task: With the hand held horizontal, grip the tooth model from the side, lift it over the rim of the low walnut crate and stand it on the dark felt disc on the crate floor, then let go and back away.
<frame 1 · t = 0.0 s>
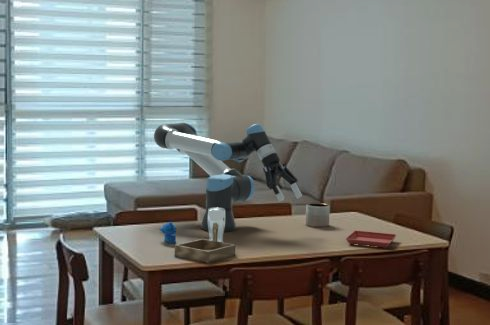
hand: (291, 198, 326), 15 cm above the table, fingers open, 13 cm apart
plant saucer: (371, 244, 313), on the table
planter: (317, 225, 349), on the table
blue figurine: (169, 242, 304), on the table
crate: (205, 255, 282), on the table
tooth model: (215, 247, 298), on the table
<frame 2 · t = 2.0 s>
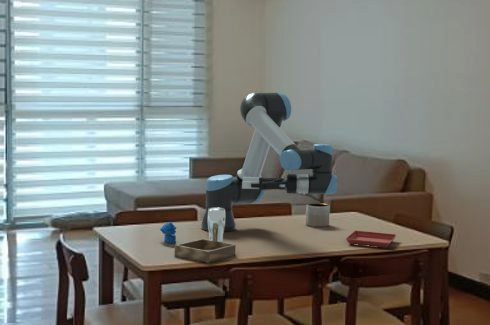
hand: (242, 182, 295), 25 cm above the table, fingers open, 13 cm apart
nothing on the table moved.
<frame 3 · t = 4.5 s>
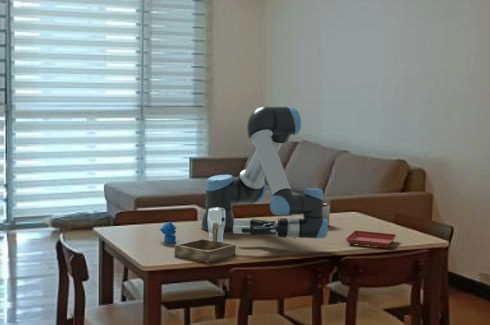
hand: (233, 226, 296), 8 cm above the table, fingers open, 13 cm apart
nothing on the table moved.
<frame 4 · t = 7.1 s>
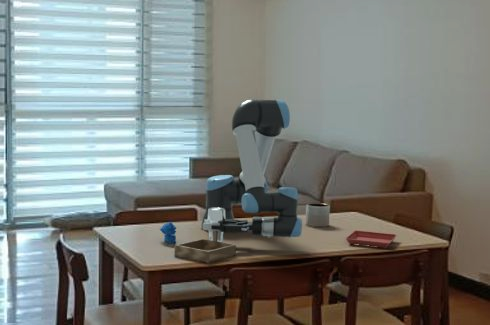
hand: (203, 224, 297), 9 cm above the table, fingers closed on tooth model, 7 cm apart
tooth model: (215, 247, 298), on the table, touching gripper
everything else where it was.
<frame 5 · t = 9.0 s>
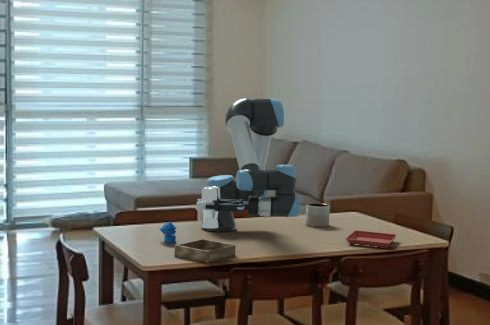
hand: (197, 204, 283), 19 cm above the table, fingers closed on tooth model, 7 cm apart
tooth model: (210, 227, 284), point 10 cm above the table, touching gripper
everything else where it was.
when the fingers open (10 cm above the table, at t = 11.2 s): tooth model stays where it is, resting on crate.
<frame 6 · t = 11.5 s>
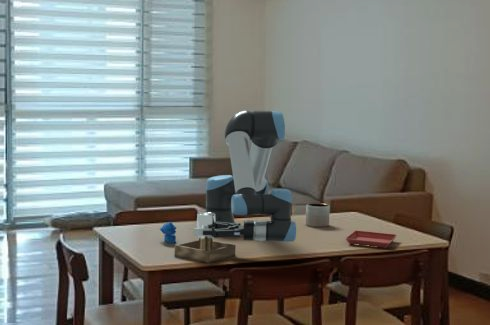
hand: (195, 228, 281), 10 cm above the table, fingers open, 11 cm apart
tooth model: (205, 254, 282), point 1 cm above the table, touching crate
everything else where it was.
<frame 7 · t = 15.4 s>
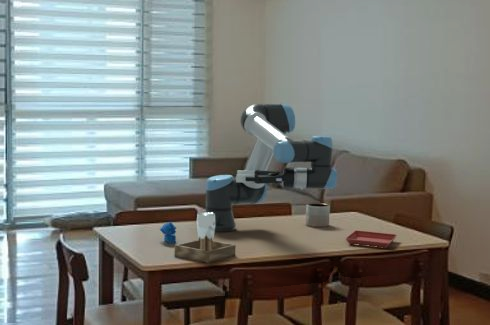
hand: (236, 176, 279), 30 cm above the table, fingers open, 13 cm apart
nothing on the table moved.
at the end: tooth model inside the target area on the crate (0.1 cm from its centre), point 0.6 cm above the crate's base; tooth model tilted 0°; the gripper is holding nothing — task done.
